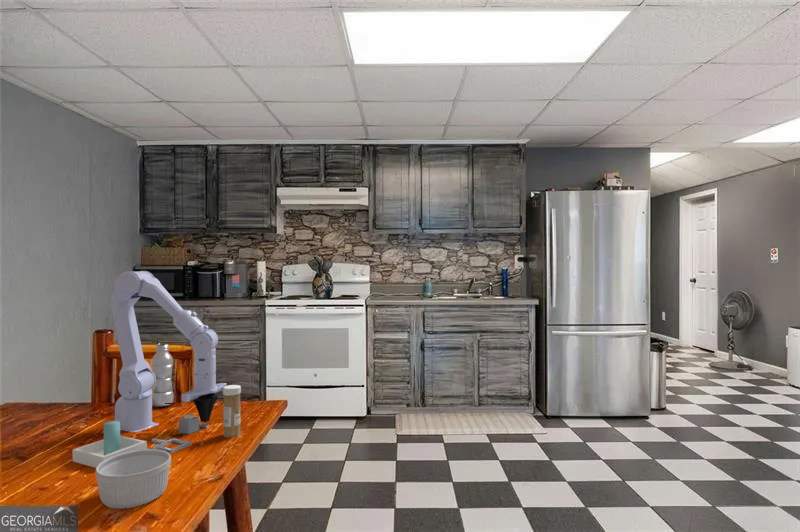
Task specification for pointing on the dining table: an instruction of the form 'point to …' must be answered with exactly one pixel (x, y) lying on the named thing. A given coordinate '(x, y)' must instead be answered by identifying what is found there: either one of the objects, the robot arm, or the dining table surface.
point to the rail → (161, 441)
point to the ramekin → (133, 478)
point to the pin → (111, 437)
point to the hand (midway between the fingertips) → (205, 421)
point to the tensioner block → (169, 450)
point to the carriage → (188, 424)
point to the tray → (95, 451)
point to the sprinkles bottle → (231, 411)
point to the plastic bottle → (162, 376)
